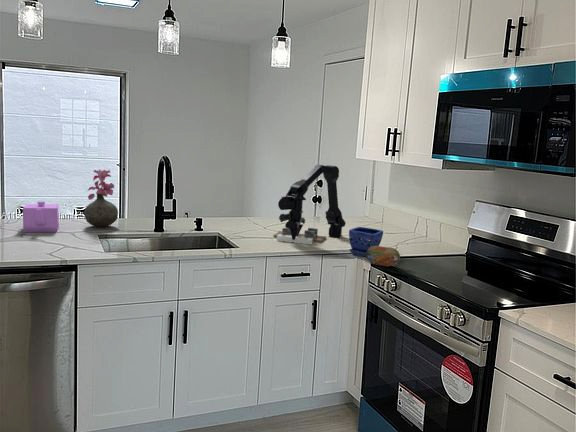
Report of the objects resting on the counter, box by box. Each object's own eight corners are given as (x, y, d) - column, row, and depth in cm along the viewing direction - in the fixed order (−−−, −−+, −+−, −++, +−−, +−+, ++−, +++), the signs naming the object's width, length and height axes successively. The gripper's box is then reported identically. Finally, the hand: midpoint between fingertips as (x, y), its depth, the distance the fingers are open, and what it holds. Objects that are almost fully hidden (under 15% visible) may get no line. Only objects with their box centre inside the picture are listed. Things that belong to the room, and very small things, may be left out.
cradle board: (325, 238, 291) (326, 229, 290) (321, 242, 279) (322, 233, 278) (279, 233, 297) (279, 224, 296) (273, 237, 285) (273, 227, 285)
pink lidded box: (21, 234, 254) (20, 205, 252) (27, 224, 277) (26, 197, 275) (56, 234, 259) (56, 205, 257) (59, 224, 282) (59, 198, 280)
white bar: (312, 243, 277) (312, 237, 276) (310, 245, 273) (311, 239, 272) (278, 239, 281) (278, 233, 280) (276, 241, 277) (276, 235, 276)
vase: (108, 231, 274) (108, 172, 269) (76, 228, 276) (76, 169, 272) (123, 225, 290) (123, 170, 285) (92, 222, 293) (93, 167, 288)
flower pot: (382, 254, 262) (384, 230, 260) (372, 259, 250) (374, 234, 248) (357, 249, 268) (359, 226, 266) (346, 254, 257) (348, 229, 255)
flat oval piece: (365, 262, 243) (366, 244, 241) (367, 261, 245) (369, 243, 244) (397, 268, 236) (399, 249, 234) (399, 267, 239) (401, 248, 237)
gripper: (285, 205, 285) (284, 234, 287) (276, 209, 267) (274, 240, 269) (306, 207, 282) (304, 236, 285) (298, 212, 264) (296, 243, 267)
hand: (294, 239), depth 276 cm, fingers closed on white bar, 4 cm apart
